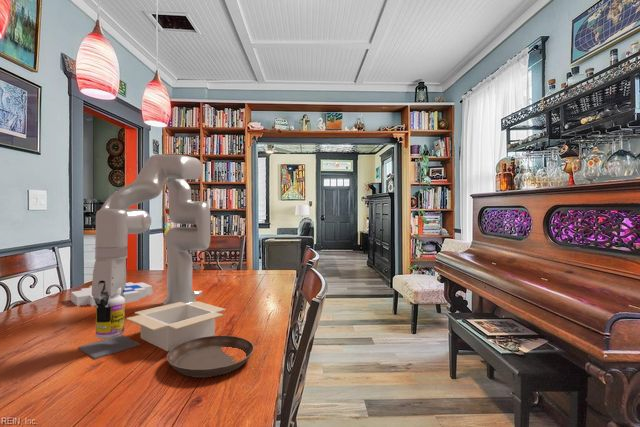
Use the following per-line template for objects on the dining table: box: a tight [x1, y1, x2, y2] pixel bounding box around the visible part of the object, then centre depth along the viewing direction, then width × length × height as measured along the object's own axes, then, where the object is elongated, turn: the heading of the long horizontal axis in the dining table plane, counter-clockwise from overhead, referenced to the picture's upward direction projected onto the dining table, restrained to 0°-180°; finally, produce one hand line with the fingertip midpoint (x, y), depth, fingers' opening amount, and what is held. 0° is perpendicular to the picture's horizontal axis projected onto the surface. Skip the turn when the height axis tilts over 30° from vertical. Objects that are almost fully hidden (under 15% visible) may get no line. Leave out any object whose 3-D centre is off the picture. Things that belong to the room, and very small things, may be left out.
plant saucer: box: [166, 335, 255, 378], centre depth 80 cm, size 21×21×3 cm
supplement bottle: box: [95, 288, 126, 340], centre depth 89 cm, size 7×7×13 cm
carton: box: [126, 300, 227, 352], centre depth 96 cm, size 23×23×7 cm
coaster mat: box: [78, 334, 141, 360], centre depth 88 cm, size 11×11×1 cm
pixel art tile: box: [70, 281, 153, 307], centre depth 141 cm, size 28×4×28 cm
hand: (110, 317), depth 89 cm, fingers closed on supplement bottle, 6 cm apart
